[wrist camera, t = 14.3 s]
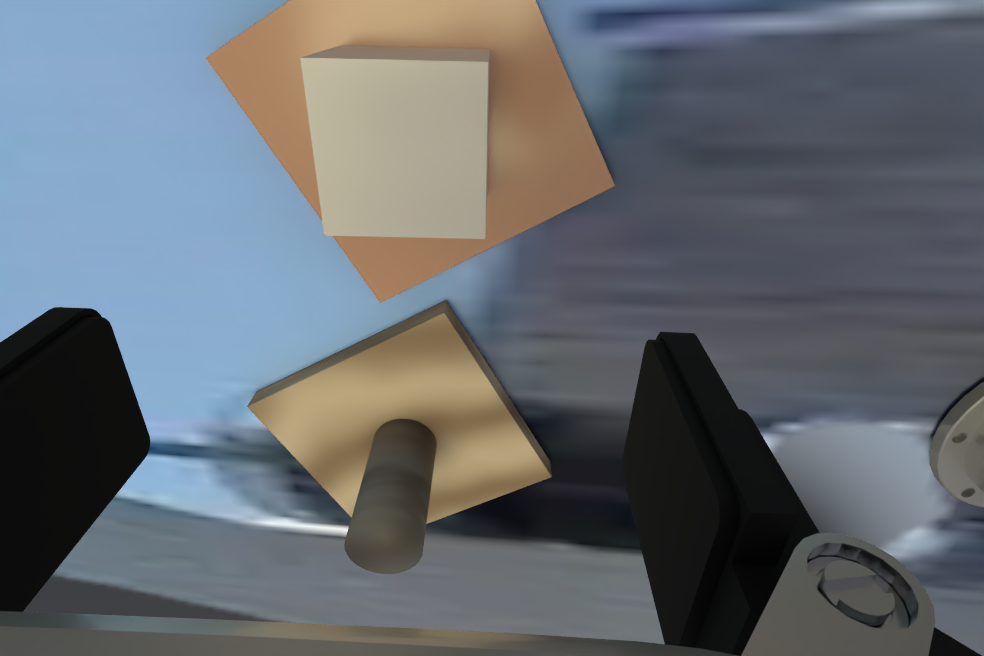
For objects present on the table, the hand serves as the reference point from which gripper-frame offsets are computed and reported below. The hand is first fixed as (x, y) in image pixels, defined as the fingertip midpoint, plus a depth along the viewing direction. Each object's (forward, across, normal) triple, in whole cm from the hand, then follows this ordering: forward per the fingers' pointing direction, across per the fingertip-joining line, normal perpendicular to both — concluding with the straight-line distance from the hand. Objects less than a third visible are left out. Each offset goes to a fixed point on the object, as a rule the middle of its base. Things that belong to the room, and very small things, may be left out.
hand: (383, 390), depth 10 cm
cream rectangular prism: (+20, +2, -1) cm, 20 cm away
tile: (+21, +2, -1) cm, 21 cm away
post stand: (+21, +3, +18) cm, 28 cm away
